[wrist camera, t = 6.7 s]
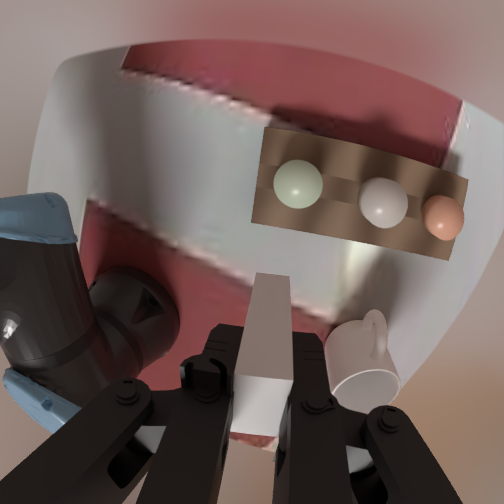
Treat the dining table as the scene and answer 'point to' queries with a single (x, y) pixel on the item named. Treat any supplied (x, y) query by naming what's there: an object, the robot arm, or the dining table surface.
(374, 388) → the mug
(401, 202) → the grey egg
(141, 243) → the dining table surface
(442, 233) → the orange egg
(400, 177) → the cardboard egg tray
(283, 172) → the sage egg
